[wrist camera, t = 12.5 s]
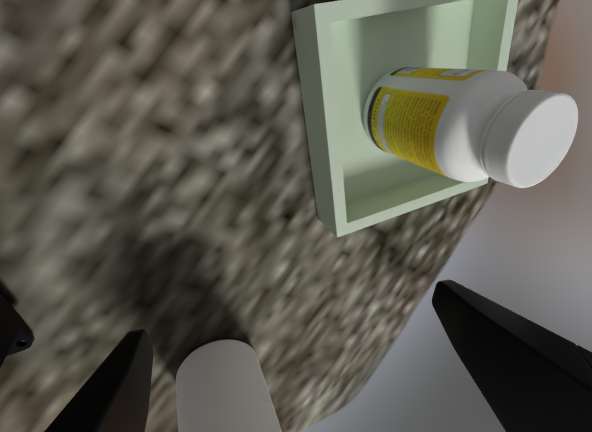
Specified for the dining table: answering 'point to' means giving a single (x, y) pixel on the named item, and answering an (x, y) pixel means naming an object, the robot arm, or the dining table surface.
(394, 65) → the tray
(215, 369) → the can
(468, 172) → the supplement bottle
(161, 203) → the dining table surface
